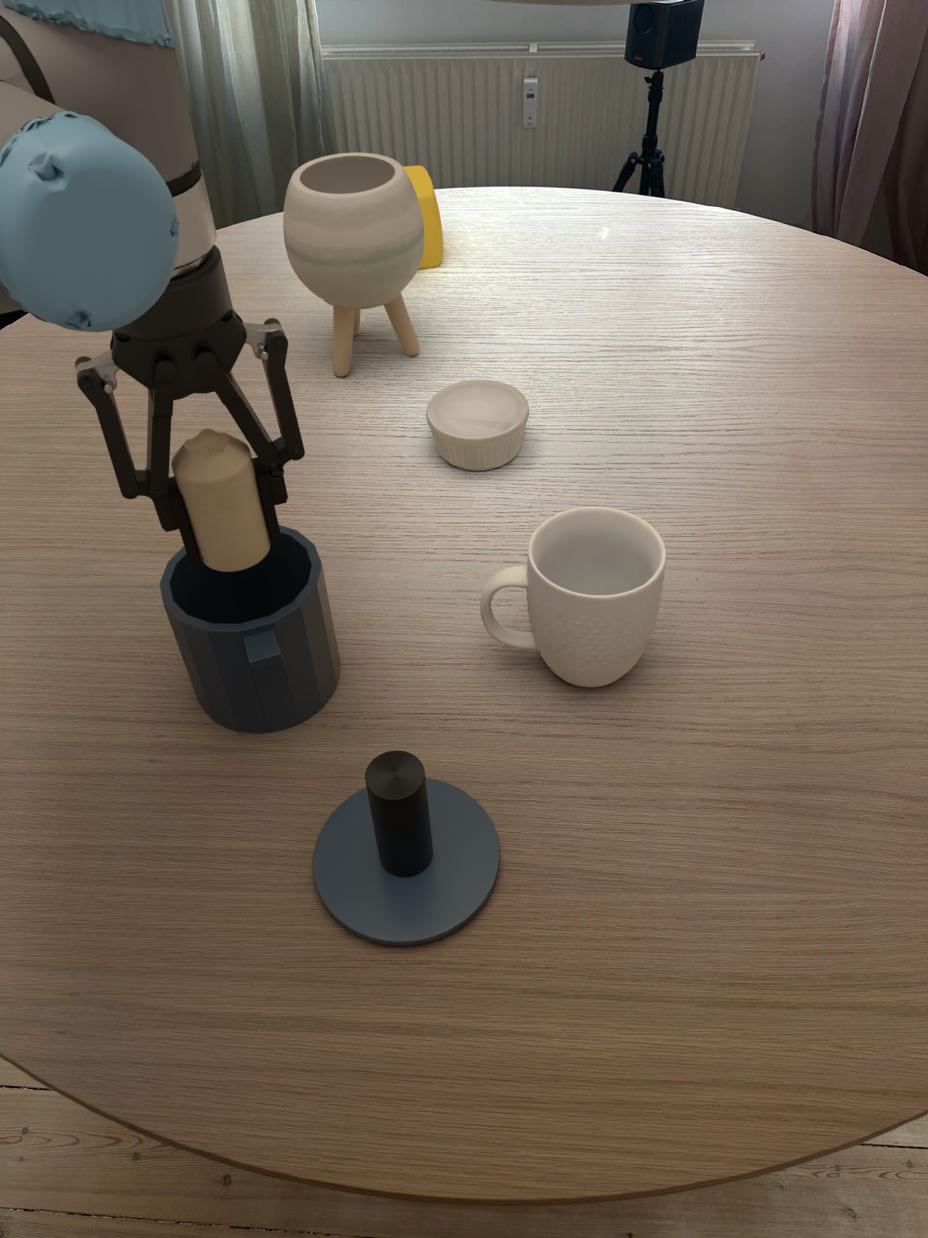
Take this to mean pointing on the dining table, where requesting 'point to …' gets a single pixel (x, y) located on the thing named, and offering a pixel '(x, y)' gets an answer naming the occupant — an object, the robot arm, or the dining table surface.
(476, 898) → the lid
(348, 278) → the planter
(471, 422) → the ramekin
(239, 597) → the pot
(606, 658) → the mug
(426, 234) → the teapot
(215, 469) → the candle
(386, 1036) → the dining table surface
